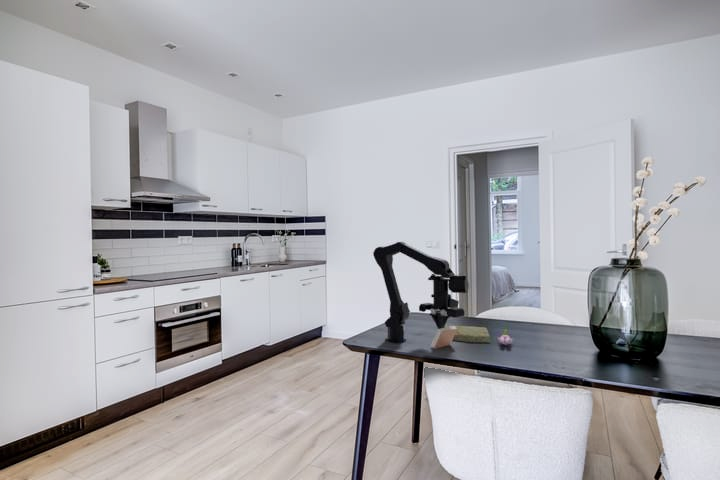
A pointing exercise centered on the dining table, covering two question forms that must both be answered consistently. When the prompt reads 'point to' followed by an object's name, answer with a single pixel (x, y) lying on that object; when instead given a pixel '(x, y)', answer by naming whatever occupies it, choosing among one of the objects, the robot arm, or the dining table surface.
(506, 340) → the pink bulbous piece
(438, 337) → the standing tile
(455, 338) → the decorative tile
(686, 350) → the dining table surface
